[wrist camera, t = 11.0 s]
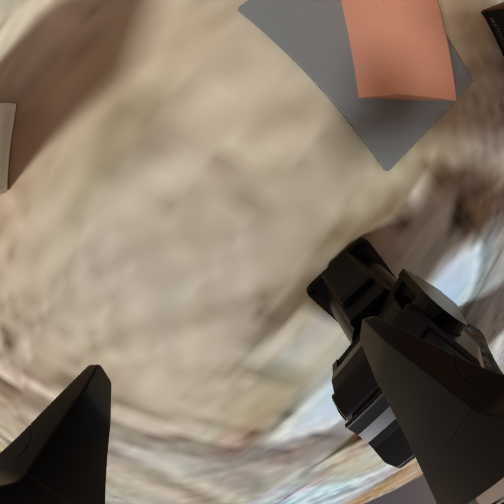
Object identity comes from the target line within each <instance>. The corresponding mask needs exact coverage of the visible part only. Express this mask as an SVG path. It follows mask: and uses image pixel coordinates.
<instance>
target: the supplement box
mask: <svg viewBox="0 0 504 504" xmlns="http://www.w3.org/2000/svg"><path fill="white" fill-rule="evenodd" d="M15 111H16V104H15V103H0V195H1V194H3V193H6V192H7V186H8V168H9V156H10V147H11V138H12V131H13V124H14V118H15Z"/></svg>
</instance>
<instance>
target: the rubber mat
mask: <svg viewBox="0 0 504 504" xmlns="http://www.w3.org/2000/svg"><path fill="white" fill-rule="evenodd" d="M238 11H240V12H241V13H242V14H243V15H245V16H246V17H247V18H248V19H249V20H250V21H252V22H253V23H254V24H255V25H256V26H257V27H259V28H260V29H261V30H262V31H263V32H264V33H265V34H267V35H268V36H269V37H270V38H271V39H272V40H273V41H274V42H275V43H276V44H277V45H278V46H280V47H281V48H282V49H283V50H284V51H285V52H286V53H287V54H288V55H289V56H290V57H291V58H292V59H293V60H294V61H295V62H296V63H297V64H298V65H299V66H300V67H301V68H302V69H303V70H304V71H305V72H306V73H307V75H308V76H309V77H310V78H311V79H312V80H313V81H314V82H315V83H316V84H317V85H318V86H319V88H320V89H321V90H322V91H323V92H324V93H325V94H326V95H327V97H328V98H329V99H330V100H331V101H332V102H333V103H334V105H335V106H336V107H337V108H338V109H339V111H340V112H341V113H342V114H343V115H344V117H345V118H346V119H347V120H348V122H349V123H350V124H351V125H352V127H353V128H354V129H355V130H356V132H357V133H358V134H359V136H360V137H361V138H362V140H363V141H364V142H365V144H366V145H367V146H368V148H369V149H370V150H371V152H372V153H373V155H374V156H375V157H376V159H377V160H378V162H379V163H380V164H381V166H382V167H383V169H384V170H386V171H389V170H390V169H391V168H392V167H393V166H394V165H395V164H396V163H397V162H398V161H399V160H400V159H401V158H402V157H403V156H404V155H405V154H406V153H407V152H408V151H409V149H410V148H411V147H412V146H413V145H414V144H415V143H416V142H417V141H418V140H419V139H420V138H421V137H422V136H423V135H424V134H425V133H426V132H427V131H428V130H429V129H430V127H431V126H432V125H433V124H434V123H435V122H436V121H437V120H438V119H439V118H440V117H441V116H442V115H443V114H444V112H445V111H446V110H447V109H448V108H449V107H450V106H451V105H452V104H453V103H454V102H455V101H441V100H420V101H411V100H397V99H376V98H359V97H358V89H357V82H356V75H355V69H354V62H353V56H352V51H351V45H350V40H349V35H348V30H347V25H346V21H345V16H344V12H343V7H342V3H341V0H248V1H247V2H245V3H244V4H242V5H241V6H240V7H239V8H238ZM446 38H447V36H446ZM447 43H448V47H449V53H450V58H451V64H452V70H453V77H454V85H455V93H456V99H457V98H458V97H459V96H460V95H461V94H462V93H463V92H464V90H465V89H466V88H467V87H468V86H469V85H470V84H471V83H472V81H473V80H472V78H471V76H470V74H469V73H468V71H467V69H466V67H465V65H464V64H463V62H462V60H461V58H460V57H459V55H458V53H457V52H456V50H455V49H454V47H453V45H452V44H451V42H450V41H449V39H448V38H447Z"/></svg>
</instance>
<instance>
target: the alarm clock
mask: <svg viewBox="0 0 504 504" xmlns="http://www.w3.org/2000/svg"><path fill="white" fill-rule="evenodd" d="M481 14H482V15H484V17H485V19H486V21H487V22H488V24H489V26H490V28H491V30H492V32H493V34H494V36H495V38H496V40H497V42H498V45H499V47H500V49H501V51H502V53H503V56H504V2H503V3H500V4H498V5H495V6H493V7H490V8H488V9H485V10H483V11H482V12H481Z"/></svg>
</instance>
